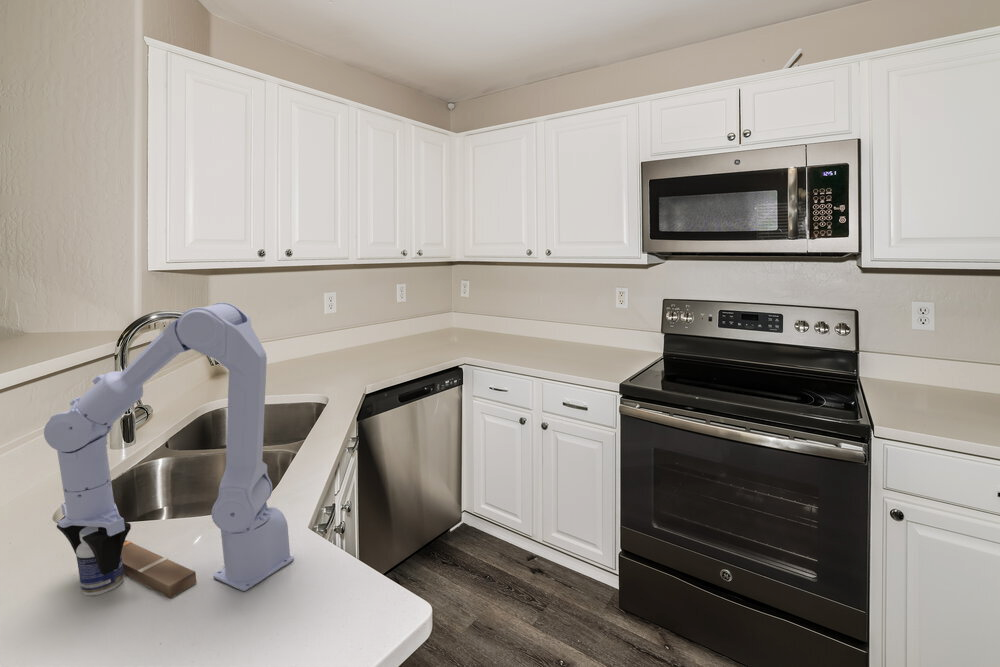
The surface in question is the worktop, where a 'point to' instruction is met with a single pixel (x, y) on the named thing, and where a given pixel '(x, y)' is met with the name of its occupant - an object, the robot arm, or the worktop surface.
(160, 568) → the striped brown wooden bar
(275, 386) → the worktop surface
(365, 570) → the worktop surface
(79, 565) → the pill bottle
